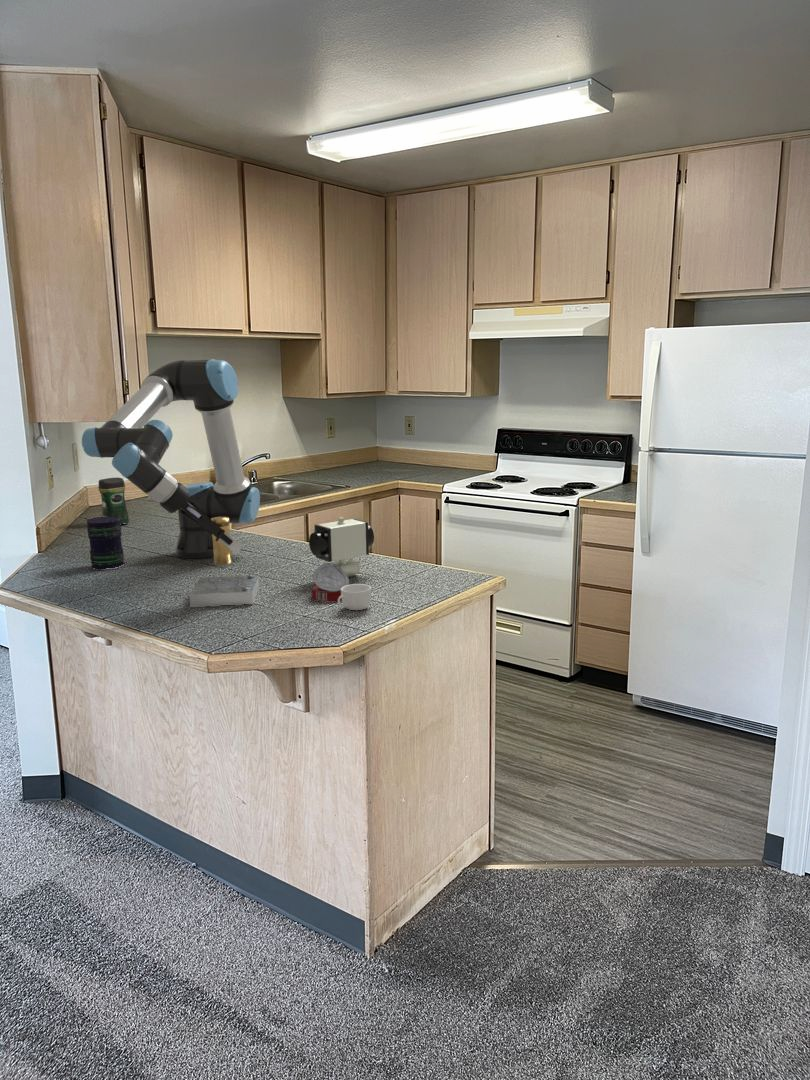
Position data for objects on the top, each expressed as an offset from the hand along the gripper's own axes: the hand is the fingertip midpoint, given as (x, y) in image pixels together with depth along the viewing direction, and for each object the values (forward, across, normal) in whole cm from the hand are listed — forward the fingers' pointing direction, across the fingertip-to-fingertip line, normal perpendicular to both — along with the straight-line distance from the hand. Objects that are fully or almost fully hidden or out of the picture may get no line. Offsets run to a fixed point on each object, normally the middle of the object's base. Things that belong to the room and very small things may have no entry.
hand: (236, 548), depth 213 cm
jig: (+7, 0, -12) cm, 14 cm away
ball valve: (+32, -2, +13) cm, 34 cm away
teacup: (+24, +28, +5) cm, 37 cm away
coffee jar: (+1, -121, -17) cm, 122 cm away
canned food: (+24, +14, +5) cm, 28 cm away
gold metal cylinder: (0, 0, -5) cm, 5 cm away
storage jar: (-8, -53, -27) cm, 60 cm away
